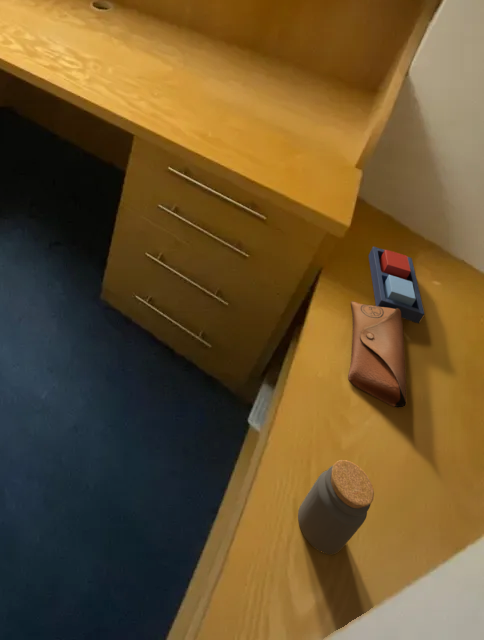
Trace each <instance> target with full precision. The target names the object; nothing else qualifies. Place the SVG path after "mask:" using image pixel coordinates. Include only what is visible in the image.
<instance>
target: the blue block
mask: <svg viewBox="0 0 484 640" xmlns="http://www.w3.org/2000/svg"><path fill="white" fill-rule="evenodd" d="M383 286H384V292H385V298H386V299H389V300H392V301H395V302H398V303H401V304H404V305H407V306H410V307H411V306H412V305H413V303H414V302H415V300H416V297H415V293H414V288H413V284H412V282H410V281H407V280H404V279H401V278H398V277H395V276H391V275H388V277H387V279H386V281H385V283H384V284H383Z"/></svg>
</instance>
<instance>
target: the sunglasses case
mask: <svg viewBox="0 0 484 640" xmlns="http://www.w3.org/2000/svg"><path fill="white" fill-rule="evenodd" d="M350 307H351V314H352V315H351V316H352V334H351V335H352V337H351V338H352V339H351V355H350V365H349V370H348V375H347V380H348V382H349V383H350V384H351V385H352V386H354V387H356V388H357V389H359V390H361V391H363V392H364V393H366V394H368V395H369V396H371V397H373V398H375V399H377V400H379V401H381V402H383V403H385V404H387V405H389V406H390V407H393V408H398V409H400V408H401V409H402V408H405V407H407V401H408V400H407V372H406V353H405V338H404V337H405V334H404V325H403V320H402V319H403V318H401V311H400V309H398V308H396V309H393V308H387V307H379V306H376V305H372V304H365V303H359V302H356V301H354V300H352V301H350Z"/></svg>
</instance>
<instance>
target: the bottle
mask: <svg viewBox="0 0 484 640" xmlns="http://www.w3.org/2000/svg"><path fill="white" fill-rule="evenodd" d="M374 497H375V491H374V487H373V483H372V481H371V479H370V478H369V476H368V475H367V473H366V472H365V470H363V469H362V467H360V466H359V465H357V464H356V463H355V462H352V461H350V460H346V459H340V460H336V462H335V463H334V464H333V465H331V466H329V468H328V469H326V470H325V471H323V472H321V473H320V475H319V476H318V477H317V479H315V482H314V483H313V485H312V487H311V488H310V490H309V491H308V492H307V494H306V495H305V497H304V499H303V501H302V502H301V504H300V505H299V508H298V513H297V520H298V524H299V528H300V530H301V532H302V534H303V537H304V538H305V539H306V541H307V540H308V541H307V542H308V543H309V544H310V545H311V547H313V548H314V547H315V548H314V549H316V550H317V549H318V550H319V551H318V550H317V551H318V552H320V551H322V552H324V553H323V554H325V553H327V554H326V555H330V554H332V555H335V553H336V554H338V553H339V552H341V550H342V549H343V548H344V547H345V546H346V544H347V543H348V542H349V541H350V540H351V539H352V538H353V537H354V535H355V534H356V532H358V530H359V529H360V528H361V526H362V525H364V523H365V521H366V519H367V516H368V511H369V509H370V508H371V504H372V503H373V502H374ZM322 552H321V553H322Z"/></svg>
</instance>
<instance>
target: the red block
mask: <svg viewBox="0 0 484 640" xmlns="http://www.w3.org/2000/svg"><path fill="white" fill-rule="evenodd" d="M383 250H384V252H383V254H382V256H381V258H380V260H379V262H380V268H381V272H383V273H387V274H390V275H393V276H396V277H399V278H403V279H407V277H408V275H409V274H410V272H411V271H410V266H409V262H408V257H409V256H408V255H405V254H402V253H399V252H396V251H393V250H389V249H386V248H385V249H383Z"/></svg>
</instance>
